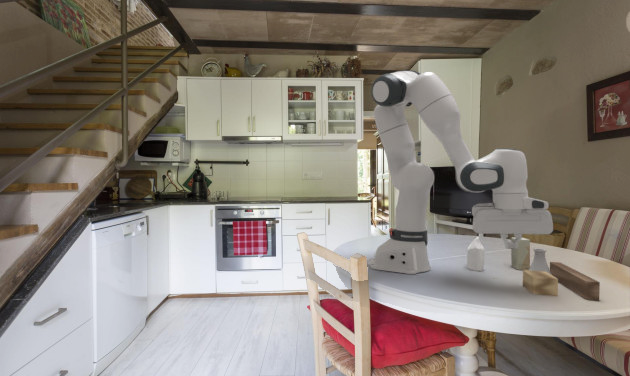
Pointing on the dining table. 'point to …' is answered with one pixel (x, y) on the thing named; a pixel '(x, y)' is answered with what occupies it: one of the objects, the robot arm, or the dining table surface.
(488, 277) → the dining table surface
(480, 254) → the white bottle
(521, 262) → the box
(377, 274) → the dining table surface
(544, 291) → the oak block
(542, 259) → the flask
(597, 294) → the walnut board
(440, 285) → the dining table surface
